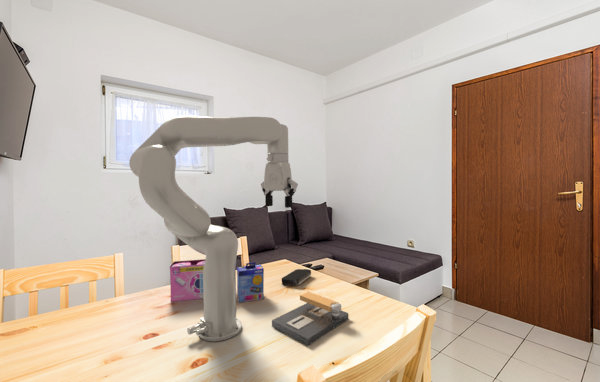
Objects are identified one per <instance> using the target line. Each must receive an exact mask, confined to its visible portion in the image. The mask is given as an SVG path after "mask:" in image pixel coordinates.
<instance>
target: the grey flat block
mask: <svg viewBox="0 0 600 382" xmlns="http://www.w3.org/2000/svg"><path fill="white" fill-rule="evenodd" d="M348 320H349V312H347V311H344V310H341V312H339V313H334V312H329V311H326V310H324V309H321V308H319V307H316V306H314V305H311V304H309V303H306V302H305V303H304V304H302V305H300V306H298V307H296V308H294V309H291V310H290V311H288V312H286V313H284V314H282V315H280V316H278V317H275V318H273V319H271V327H272V328H273V329H276V330H277V331H280V332H282V333H284V334H285V335H286V336H289V337H290V338H292V339H294V340H296V341H298V342H299V343H302V344H304V345H305V346H307V347H309V346H310V345H311V344H313V343H315V342H316V341H319V339H321V338H322V337H323V336H325V335H326V334H328V333H330V332H331V331H333V330H335V329H336V328H337V327H339V326H340V325H342V324H344V323H345V322H347V321H348Z"/></svg>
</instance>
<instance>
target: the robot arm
mask: <svg viewBox="0 0 600 382" xmlns="http://www.w3.org/2000/svg"><path fill="white" fill-rule="evenodd" d="M246 143H250V144H252V145H267V150H266V151H267V157H266V161H267V163H265V169H264V177H263V178H264V179H263V182H262V183H260V186H261V187H260V188H261V190H262V192H263V195H264V196H265V197H264V198H265V199H264V200H265V204H264V205H265V207H272V206H273V205H274V204H273V203H274V199H273V198H274V197H273V192H274V191H275V192H281V191H283V192H284V194H285V196H284V207H285V208H287V209H288V208H293V196H295V192H297V189H298V186H299V185H298V182H296V181H295V180H293V178H292V169H291V164H290V162H289V128H288V126H287V125H286V124H283V123H280V121H278V120H277V119H276V118H273V117H267V116H237V117H235V116H231V117H230V116H227V117H226V116H225V117H219V116H217V117H216V116H215V117H214V116H199V115H198V116H197V115H196V116H195V115H178V116H175V117H173V118H171V119H169V120H167V121H165V122H164V123H162V124H161V125H160V126H159V127H158V128H157V129H155V131H154V132H153V133H152V134H151V135H150V136H149V137H148V138H147V139H146V140H144V142H143V143H142V144H141V145H139V147H138V148H136V149H135V150H134V152H133V153H132V154H131V156H130V158H129V162H128V163H129V164H128V165H129V169H130V170H131V171H132V173H133V174H134V175H135V176H136V177H138V185H139V190H140V194H141V196H142V198H143V201H145V203H146V204H147V205H148V206H149V207H150V208H151V209H152V210H153V211H154V212H155V213H157V214H158V215H159V216H160V217H161V218H163V222H164V226H165V227H166V229H167V230H168V232H170V233H171V234H172V235H174V236H175V237H176V238H178V239H179V241H182V242H183V243H184V244H185V245H187V246H188V247H189V248H191V249H192V250H194V251H195V252H197V253H199V254H202V255H205V259H206V260H205V264H204V268H203V298H202V299H203V316H202V317H200V321H199V322H197V324H195V325H192V326H189V327H187V330H186V331H187V334H188V335H189V336H191V335H193V334H196V336H199V337H200V339H202V340H204V341H208V342H219V341H221V342H222V341H225V340H228V339H231V338H233V337H235V336H236V335H238V334H239V333H240V332H241V330H242V321H241V320H240V319H239V318H237V285H236V283H237V267H236V265H237V255H238V251H239V240H238V237H237V235H236V233H235V232H234V231H233V230H231V229H230V228H229V227H225V226H221V225H214V224H212V223H211V222H212V221H211V216H210V214H209V213H208V211H207V210H206V209H204V207H202V206H201V205H200V204H198V202H196V201H195V200H194V199H193V198H192V197H190V196H189V195H188V194H187V193H186V192H185V191H184V190H183V189H182V188H181V187H180V186H179V184H178V182H177V179H176V168H177V159H176V155H177V154H178V153H179V152H180V151H181V149H185V148H204V147H205V148H206V147H209V148H210V147H227V146H228V147H229V146H235V145H240V144H246Z"/></svg>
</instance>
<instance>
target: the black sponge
mask: <svg viewBox="0 0 600 382" xmlns="http://www.w3.org/2000/svg"><path fill="white" fill-rule="evenodd" d="M311 276H312V270H311V269H307V268H302V269H301V268H297V269H295V270H292V271H291V272H289V273H288V274H286V275H284V276H283V277H281V284H282V286H284V285H285V286H294V287H295V286H300V285H301V284H302V283H303V282H304V281H306V280H308V278H310V277H311Z"/></svg>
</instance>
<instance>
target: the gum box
mask: <svg viewBox="0 0 600 382" xmlns="http://www.w3.org/2000/svg"><path fill="white" fill-rule="evenodd" d="M205 260H206V258H204V259H193V260H191V259H190V260H189V259H188V260H175V261H173V262H172V264H171V265H170V266H169V274H170V275H169V276H170V277H169V278H170V279H169V282H170V285H169V286H170V303H171V302H179V301H180V302H183V301H191V300H201V299H203V268H204V264H205Z"/></svg>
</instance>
